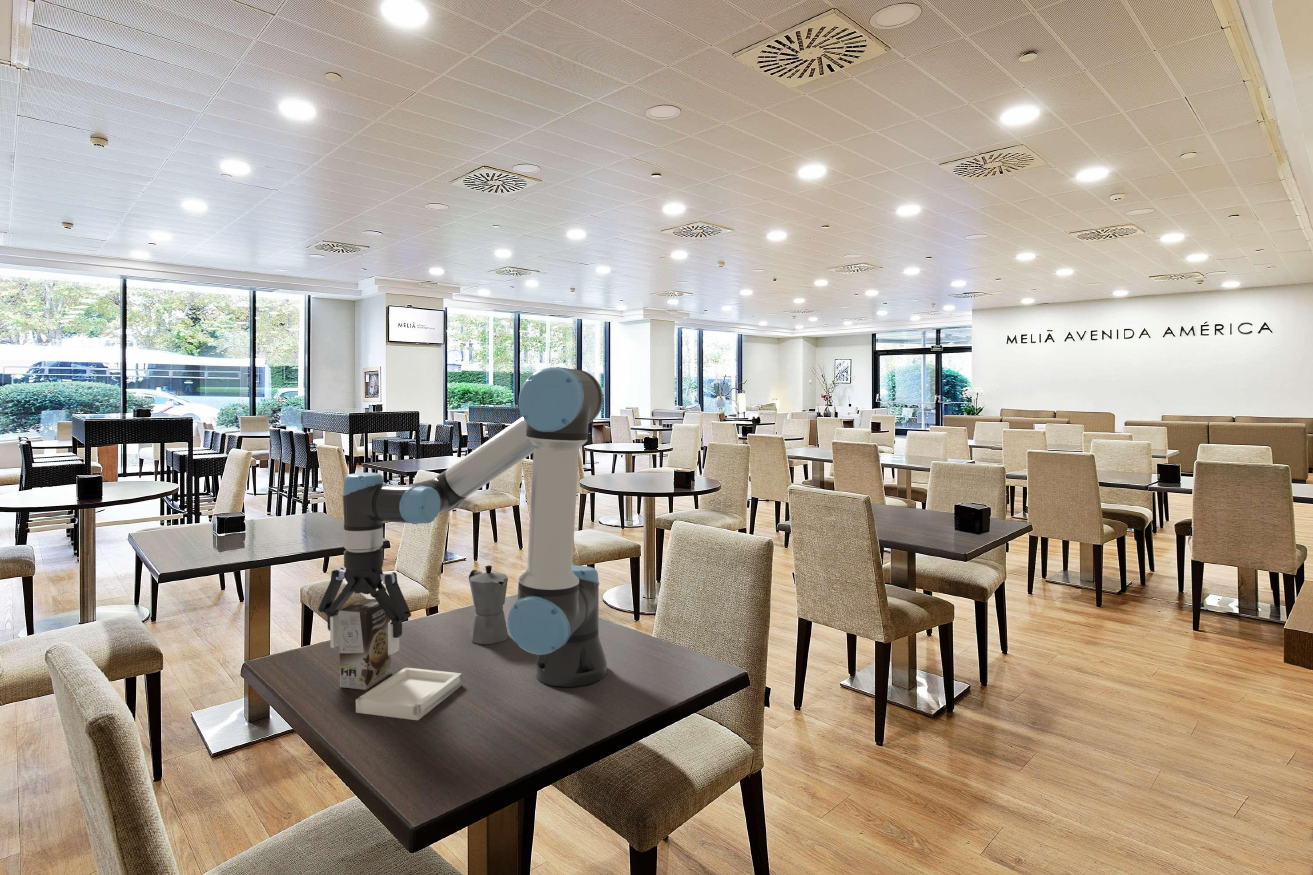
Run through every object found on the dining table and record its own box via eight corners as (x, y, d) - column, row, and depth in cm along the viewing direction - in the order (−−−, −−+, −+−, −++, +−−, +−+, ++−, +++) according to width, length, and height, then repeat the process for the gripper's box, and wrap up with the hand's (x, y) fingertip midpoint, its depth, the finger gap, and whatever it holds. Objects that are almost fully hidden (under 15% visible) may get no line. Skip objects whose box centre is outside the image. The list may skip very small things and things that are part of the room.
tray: (461, 685, 144) (461, 673, 144) (417, 720, 129) (417, 707, 129) (405, 679, 148) (405, 667, 147) (355, 712, 132) (355, 699, 132)
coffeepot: (520, 640, 171) (520, 567, 170) (486, 650, 164) (485, 574, 163) (487, 625, 182) (486, 556, 181) (454, 633, 175) (452, 562, 174)
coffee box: (367, 690, 142) (365, 612, 141) (339, 687, 143) (336, 609, 142) (393, 673, 151) (391, 598, 150) (366, 670, 152) (364, 597, 151)
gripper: (427, 548, 146) (428, 648, 147) (324, 540, 152) (325, 636, 153) (406, 556, 139) (407, 662, 140) (298, 547, 144) (300, 649, 146)
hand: (364, 649), depth 147 cm, fingers open, 13 cm apart
